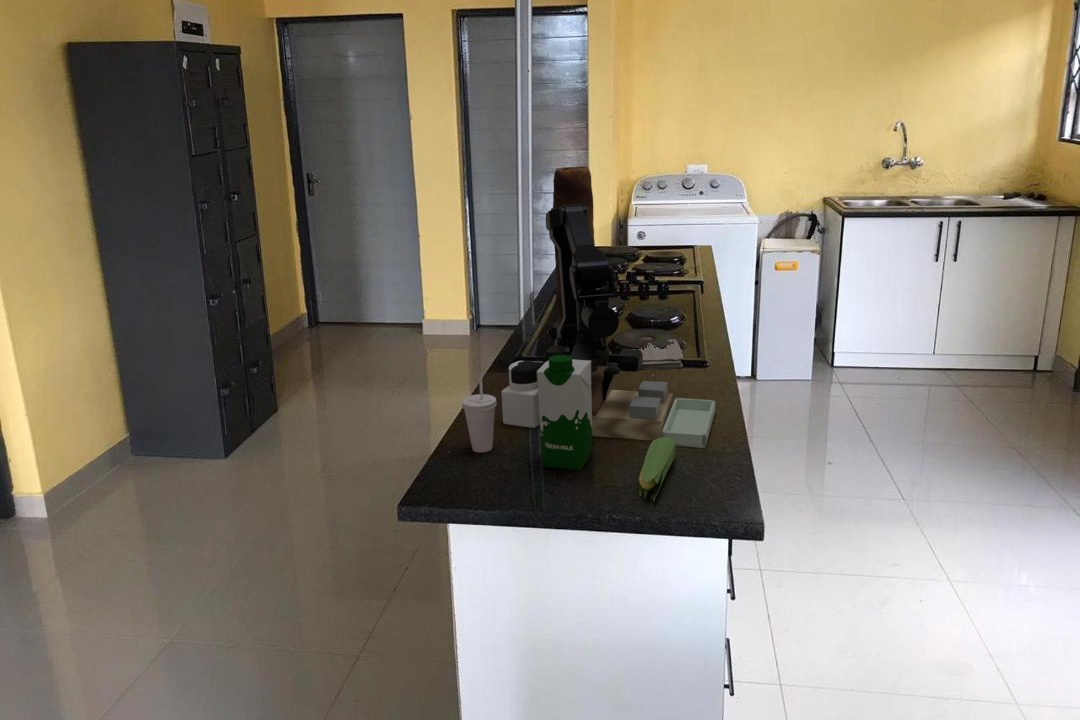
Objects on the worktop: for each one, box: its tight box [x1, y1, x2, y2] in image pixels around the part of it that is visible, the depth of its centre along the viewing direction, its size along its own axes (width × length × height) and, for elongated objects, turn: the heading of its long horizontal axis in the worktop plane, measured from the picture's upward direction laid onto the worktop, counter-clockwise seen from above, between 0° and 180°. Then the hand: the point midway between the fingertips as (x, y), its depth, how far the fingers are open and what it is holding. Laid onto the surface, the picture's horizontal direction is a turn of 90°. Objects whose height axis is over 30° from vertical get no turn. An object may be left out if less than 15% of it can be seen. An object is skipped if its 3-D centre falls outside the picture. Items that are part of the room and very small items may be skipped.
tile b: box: [630, 396, 661, 420], centre depth 163 cm, size 5×5×2 cm
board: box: [592, 389, 674, 441], centre depth 170 cm, size 17×15×4 cm
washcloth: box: [638, 338, 684, 370], centre depth 208 cm, size 12×18×3 cm, turn 0°
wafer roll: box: [552, 166, 596, 328], centre depth 210 cm, size 10×11×45 cm
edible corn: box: [638, 437, 677, 502], centre depth 146 cm, size 5×20×5 cm
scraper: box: [591, 366, 612, 416], centre depth 170 cm, size 4×14×5 cm, turn 164°
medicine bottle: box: [500, 360, 540, 429], centre depth 172 cm, size 7×7×12 cm
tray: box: [662, 397, 716, 449], centre depth 166 cm, size 8×18×2 cm, turn 164°
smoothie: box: [461, 377, 497, 453], centre depth 159 cm, size 6×6×14 cm
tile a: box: [637, 380, 669, 403], centre depth 171 cm, size 5×5×2 cm
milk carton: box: [537, 354, 593, 471], centre depth 152 cm, size 9×9×20 cm
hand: (593, 399), depth 171 cm, fingers closed on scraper, 4 cm apart
